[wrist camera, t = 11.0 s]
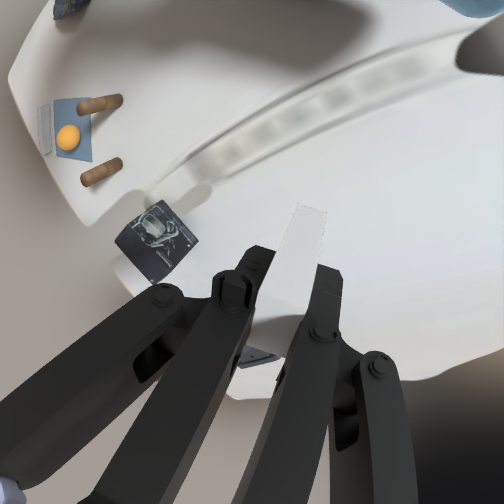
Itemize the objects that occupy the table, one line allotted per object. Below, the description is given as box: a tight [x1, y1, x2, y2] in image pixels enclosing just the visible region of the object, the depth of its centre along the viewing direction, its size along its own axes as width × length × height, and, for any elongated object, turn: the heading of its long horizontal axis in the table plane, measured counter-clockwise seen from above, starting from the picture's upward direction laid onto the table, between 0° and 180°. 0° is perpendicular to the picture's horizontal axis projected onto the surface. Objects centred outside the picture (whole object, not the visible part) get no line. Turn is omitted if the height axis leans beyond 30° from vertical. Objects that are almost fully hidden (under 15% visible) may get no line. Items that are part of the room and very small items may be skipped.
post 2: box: [80, 157, 123, 187], centre depth 44 cm, size 3×3×9 cm
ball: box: [57, 125, 81, 150], centre depth 44 cm, size 6×6×6 cm
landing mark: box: [54, 98, 92, 162], centre depth 46 cm, size 14×14×1 cm
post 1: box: [76, 94, 123, 117], centre depth 36 cm, size 3×3×9 cm
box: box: [115, 200, 198, 285], centre depth 48 cm, size 11×7×10 cm, turn 41°
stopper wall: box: [37, 105, 52, 154], centre depth 47 cm, size 12×2×2 cm, turn 170°
